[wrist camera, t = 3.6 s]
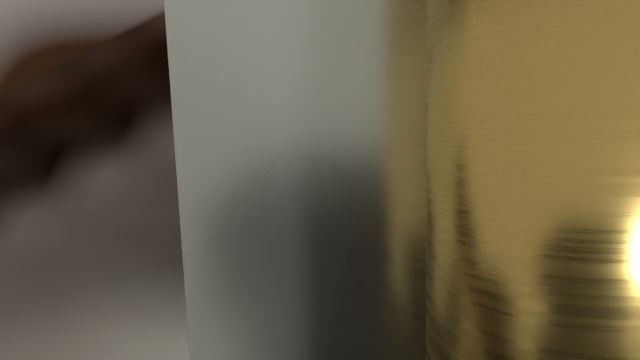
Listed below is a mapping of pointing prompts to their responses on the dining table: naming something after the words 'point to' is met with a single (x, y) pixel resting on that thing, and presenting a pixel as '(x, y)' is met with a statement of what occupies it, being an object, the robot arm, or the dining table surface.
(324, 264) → the brushed metal block
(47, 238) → the dining table surface
